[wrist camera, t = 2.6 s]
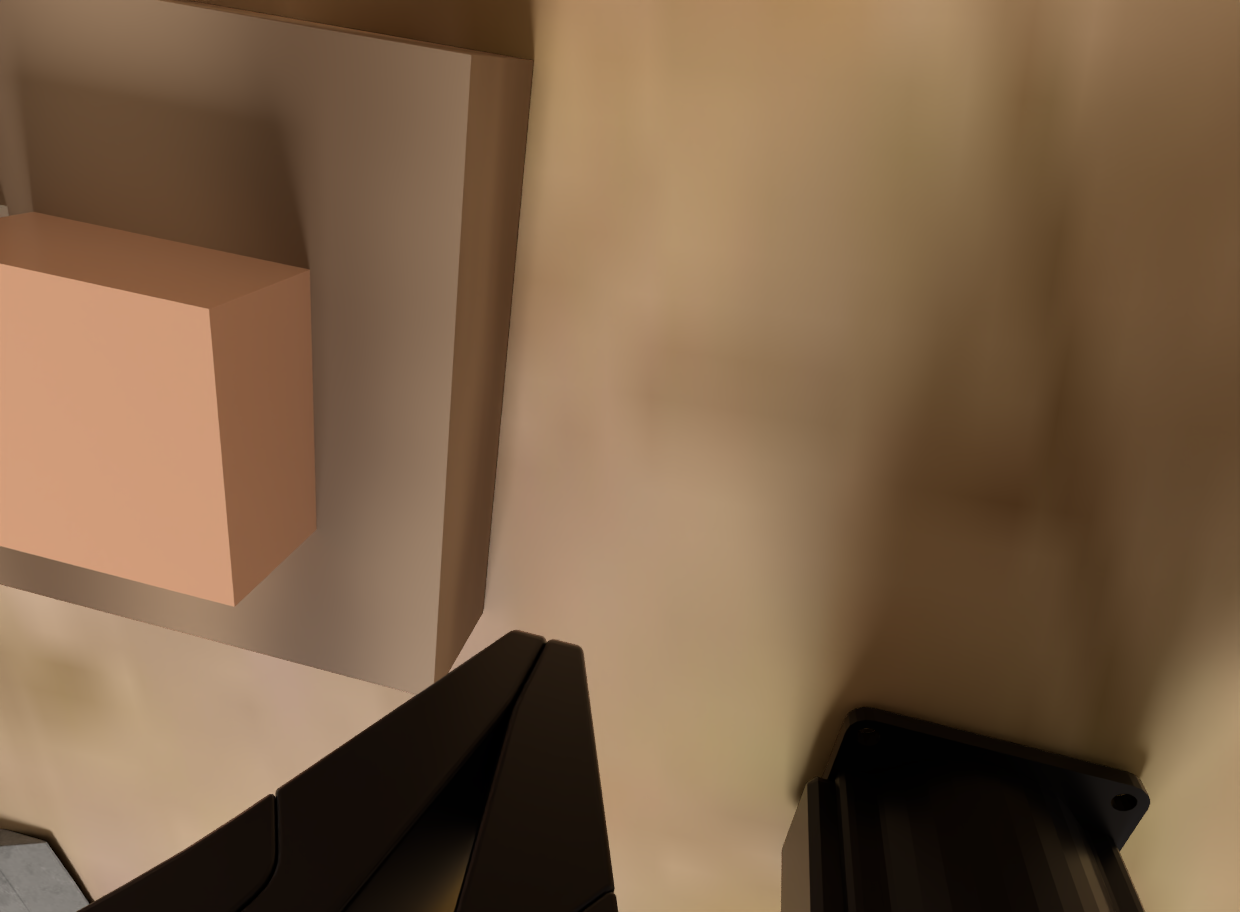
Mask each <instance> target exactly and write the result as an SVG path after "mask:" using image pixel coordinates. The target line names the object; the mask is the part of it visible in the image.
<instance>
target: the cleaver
mask: <svg viewBox="0 0 1240 912" xmlns="http://www.w3.org/2000/svg"><path fill="white" fill-rule="evenodd" d="M87 905H89V902H88V901H87V900H86V898H85V897H84V895H83V894H82V892H81V891H80V889H79V888H78V886H77V885H76V883H75V882H74V880H73V879H72V877H71V876H70V875H69V873H68V872H67V870H66V869H65V867H64V866H63V865H62V863H61V862H60V860H59V859H58V858H57V856H56V855H55V853H54V852H53V850H52V849H51V848H50V846H49V845H48V843H47V842H46V841H43V840H40V839H36V838H33V837H30V836H26V835H23V834H19V833H16V832H13V831H9V830H6V829H0V912H76V911H78V910H80V909H82V908H83V907H85V906H87Z"/></svg>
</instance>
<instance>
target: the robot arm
mask: <svg viewBox="0 0 1240 912" xmlns="http://www.w3.org/2000/svg"><path fill="white" fill-rule="evenodd" d="M865 728H869V729H873V730H875V731H873V732H870V733H864V732H861V731H859V730H862V729H865ZM1120 794H1125V795H1122V796H1116V795H1120ZM1149 805H1150V799H1149V796H1148V794H1147V792H1146V790H1145V788H1144V786H1143V784H1142V782H1141V780H1140V779H1139V778H1138V777H1137V776H1136V775H1134V774H1131V773H1129V772H1126V771H1122V770H1118V769H1114V768H1110V767H1106V766H1102V765H1098V764H1094V763H1090V762H1086V761H1082V760H1078V759H1074V758H1070V757H1066V756H1062V755H1058V754H1054V753H1050V752H1046V751H1042V750H1038V749H1034V748H1030V747H1026V746H1022V745H1018V744H1014V743H1011V742H1007V741H1003V740H999V739H995V738H991V737H987V736H983V735H979V734H975V733H971V732H967V731H963V730H959V729H955V728H951V727H947V726H943V725H939V724H935V723H931V722H927V721H923V720H919V719H915V718H911V717H907V716H903V715H899V714H895V713H891V712H887V711H883V710H879V709H875V708H869V707H862V708H857V709H854V710H852V711H851V712H849V713H848V714H847V716H846V717H845V719H844V721H843V724H842V727H841V729H840V732H839V734H838V737H837V740H836V742H835V745H834V748H833V750H832V753H831V755H830V758H829V761H828V763H827V766H826V769H825V771H824V774H823V777H822V778H820V777H815V778H813V779H812V780H810V781H809V782H807V783H806V785H805V788H804V791H803V793H802V796H801V799H800V801H799V804H798V807H797V810H796V812H795V815H794V818H793V820H792V823H791V826H790V829H789V831H788V834H787V837H786V839H785V842H784V845H783V848H782V876H781V912H1145V910H1144V908H1143V905H1142V903H1141V901H1140V898H1139V896H1138V894H1137V891H1136V889H1135V887H1134V884H1133V882H1132V880H1131V877H1130V875H1129V873H1128V870H1127V868H1126V866H1125V863H1124V861H1123V859H1122V856H1121V854H1120V850H1121V849H1122V847H1123V846H1124V844H1125V843H1126V841H1127V840H1128V838H1129V837H1130V835H1131V834H1132V832H1133V831H1134V829H1135V828H1136V826H1137V825H1138V823H1139V822H1140V820H1141V819H1142V817H1143V816H1144V814H1145V813H1146V811H1147V810H1148V808H1149ZM76 912H618V907H617V900H616V895H615V894H614V880H613V873H612V865H611V858H610V850H609V842H608V835H607V827H606V820H605V812H604V805H603V797H602V789H601V782H600V774H599V767H598V759H597V752H596V744H595V737H594V729H593V721H592V714H591V706H590V699H589V691H588V684H587V676H586V668H585V661H584V653H583V650H582V648H581V647H580V646H578V645H575V644H571V643H567V642H563V641H559V640H555V639H552V640H549V641H548V642H547V641H546V639H545V638H544V637H543V636H539V635H536V634H532V633H528V632H524V631H520V630H514V631H511V632H509V633H507V634H506V635H504V636H503V637H501V638H500V639H498V640H497V641H495V642H494V643H492V644H491V645H490V646H488V647H487V648H485V649H484V650H482V651H481V652H479V653H478V654H476V655H475V656H473V657H472V658H470V659H469V660H467V661H466V662H464V663H463V664H461V665H460V666H459V667H457V668H456V669H454V670H453V671H451V672H450V673H448V674H447V675H445V676H444V677H442V678H441V679H439V680H438V681H436V682H435V683H433V684H432V685H430V686H429V687H427V688H426V689H425V690H423V691H422V692H420V693H419V694H417V695H416V696H414V697H413V698H411V699H410V700H408V701H407V702H405V703H404V704H402V705H401V706H399V707H398V708H396V709H395V710H393V711H392V712H391V713H389V714H388V715H386V716H385V717H383V718H382V719H380V720H379V721H377V722H376V723H374V724H373V725H371V726H370V727H368V728H367V729H365V730H364V731H362V732H361V733H359V734H358V735H357V736H355V737H354V738H352V739H351V740H349V741H348V742H346V743H345V744H343V745H342V746H340V747H339V748H337V749H336V750H334V751H333V752H331V753H330V754H328V755H327V756H325V757H324V758H323V759H321V760H320V761H318V762H317V763H315V764H314V765H312V766H311V767H309V768H308V769H306V770H305V771H303V772H302V773H300V774H299V775H297V776H296V777H294V778H293V779H291V780H290V781H289V782H287V783H286V784H284V785H283V786H281V787H280V788H278V789H277V790H276V798H275V796H274V795H273V794H269V795H267V796H266V797H264V798H263V799H261V800H260V801H258V802H257V803H255V804H254V805H253V806H251V807H250V808H248V809H247V810H245V811H244V812H242V813H241V814H239V815H238V816H236V817H235V818H233V819H232V820H230V821H228V822H227V823H225V824H224V825H222V826H221V827H219V828H217V829H216V830H214V831H213V832H211V833H210V834H208V835H207V836H205V837H203V838H202V839H200V840H199V841H197V842H196V843H194V844H193V845H191V846H189V847H188V848H186V849H185V850H183V851H181V852H180V853H178V854H176V855H174V856H173V857H171V858H169V859H168V860H166V861H164V862H162V863H161V864H159V865H157V866H156V867H154V868H152V869H150V870H149V871H147V872H145V873H144V874H142V875H140V876H138V877H137V878H135V879H133V880H132V881H130V882H128V883H126V884H125V885H123V886H121V887H119V888H118V889H116V890H114V891H112V892H110V893H109V894H107V895H105V896H103V897H101V898H100V899H98V900H96V901H94V902H92V903H91V904H89V905H87V906H85V907H83V908H82V909H80V910H78V911H76Z"/></svg>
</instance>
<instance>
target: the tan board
mask: <svg viewBox="0 0 1240 912" xmlns="http://www.w3.org/2000/svg"><path fill="white" fill-rule="evenodd" d="M533 61H534V60H528V59H522V58H517V57H511V56H505V55H499V54H494V53H488V52H482V51H476V50H471V49H465V48H459V47H453V46H448V45H442V44H436V43H430V42H425V41H419V40H413V39H407V38H402V37H396V36H390V35H384V34H379V33H373V32H367V31H361V30H356V29H350V28H344V27H338V26H333V25H327V24H321V23H315V22H310V21H304V20H298V19H292V18H287V17H281V16H275V15H269V14H264V13H258V12H252V11H246V10H241V9H235V8H229V7H223V6H218V5H212V4H206V3H201V2H195V1H189V0H0V205H3V206H7V209H8V214H9V216H12V215H18V214H24V213H29V212H37V213H42V214H46V215H51V216H56V217H61V218H66V219H70V220H75V221H80V222H85V223H89V224H94V225H99V226H104V227H109V228H113V229H118V230H123V231H128V232H132V233H137V234H142V235H147V236H152V237H156V238H161V239H166V240H171V241H175V242H180V243H185V244H190V245H195V246H199V247H204V248H209V249H214V250H218V251H223V252H228V253H233V254H238V255H242V256H247V257H252V258H257V259H261V260H266V261H271V262H276V263H281V264H285V265H290V266H295V267H300V268H304V269H309V270H310V295H311V333H312V371H313V409H314V448H315V486H316V524H317V529H316V530H315V531H314V532H313V533H312V534H311V535H310V536H309V537H308V538H307V539H306V540H305V541H304V542H303V543H302V544H301V545H300V546H298V547H297V548H296V549H295V550H294V551H293V552H292V553H291V554H290V555H289V556H288V557H287V558H286V559H285V560H284V561H283V562H282V563H281V564H279V565H278V566H277V567H276V568H275V569H274V570H273V571H272V572H271V573H270V574H269V575H268V576H267V577H266V578H265V579H264V580H263V581H261V582H260V583H259V584H258V585H257V586H256V587H255V588H254V589H253V590H252V591H251V592H250V593H249V594H248V595H247V596H246V597H245V598H244V599H242V600H241V601H240V602H239V603H238V604H237V605H236V606H235V607H233V606H229V605H225V604H221V603H218V602H214V601H210V600H206V599H202V598H198V597H194V596H191V595H187V594H183V593H179V592H175V591H171V590H168V589H164V588H160V587H156V586H152V585H148V584H144V583H141V582H137V581H133V580H129V579H125V578H121V577H118V576H114V575H110V574H106V573H102V572H98V571H94V570H91V569H87V568H83V567H79V566H75V565H71V564H67V563H64V562H60V561H56V560H52V559H48V558H44V557H41V556H37V555H33V554H29V553H25V552H21V551H17V550H14V549H10V548H6V547H2V546H0V584H1V585H5V586H9V587H12V588H16V589H20V590H24V591H28V592H31V593H35V594H39V595H43V596H46V597H50V598H54V599H58V600H61V601H65V602H69V603H73V604H76V605H80V606H84V607H88V608H92V609H95V610H99V611H103V612H107V613H110V614H114V615H118V616H122V617H125V618H129V619H133V620H137V621H140V622H144V623H148V624H152V625H156V626H159V627H163V628H167V629H171V630H174V631H178V632H182V633H186V634H189V635H193V636H197V637H201V638H204V639H208V640H212V641H216V642H219V643H223V644H227V645H231V646H235V647H238V648H242V649H246V650H250V651H253V652H257V653H261V654H265V655H268V656H272V657H276V658H280V659H283V660H287V661H291V662H295V663H299V664H302V665H306V666H310V667H314V668H317V669H321V670H325V671H329V672H332V673H336V674H340V675H344V676H347V677H351V678H355V679H359V680H363V681H366V682H370V683H374V684H378V685H381V686H385V687H389V688H393V689H396V690H400V691H404V692H408V693H411V694H415V695H417V694H419V693H420V692H422V691H423V690H425V689H426V688H427V687H429V686H430V685H432V684H433V683H435V682H436V681H438V680H439V679H441V678H442V677H444V676H445V675H447V674H448V672H449V670H450V669H451V667H452V665H453V664H454V662H455V660H456V658H457V657H458V655H459V653H460V651H461V650H462V648H463V646H464V644H465V643H466V641H467V639H468V638H469V636H470V634H471V632H472V631H473V629H474V627H475V625H476V624H477V622H478V620H479V619H480V617H481V615H482V613H483V606H484V595H485V584H486V573H487V562H488V552H489V541H490V530H491V519H492V508H493V497H494V486H495V475H496V464H497V454H498V443H499V432H500V421H501V410H502V399H503V388H504V377H505V366H506V356H507V345H508V334H509V323H510V312H511V301H512V290H513V279H514V268H515V257H516V247H517V236H518V225H519V214H520V203H521V192H522V181H523V170H524V159H525V149H526V138H527V127H528V116H529V105H530V94H531V83H532V72H533Z"/></svg>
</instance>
